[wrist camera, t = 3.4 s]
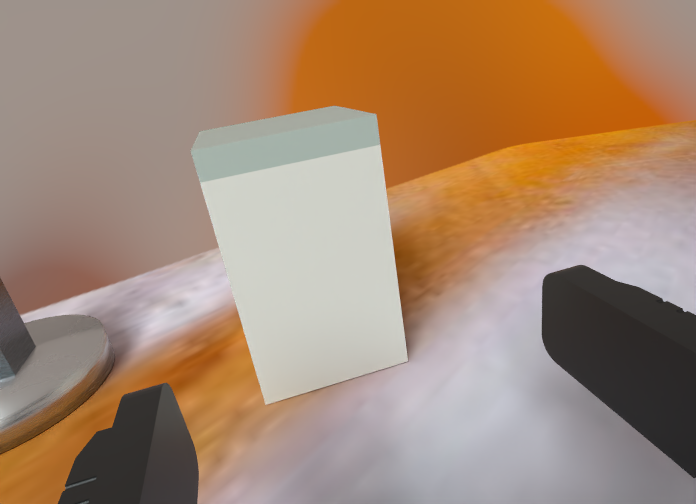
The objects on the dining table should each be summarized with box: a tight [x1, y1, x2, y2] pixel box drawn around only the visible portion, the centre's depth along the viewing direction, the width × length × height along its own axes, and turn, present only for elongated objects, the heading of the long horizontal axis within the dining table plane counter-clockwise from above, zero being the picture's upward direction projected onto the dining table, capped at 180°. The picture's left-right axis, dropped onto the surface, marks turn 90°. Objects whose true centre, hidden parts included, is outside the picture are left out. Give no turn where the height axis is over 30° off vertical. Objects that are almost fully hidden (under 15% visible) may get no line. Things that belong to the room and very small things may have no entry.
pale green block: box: [191, 106, 408, 405], centre depth 19 cm, size 6×6×10 cm
